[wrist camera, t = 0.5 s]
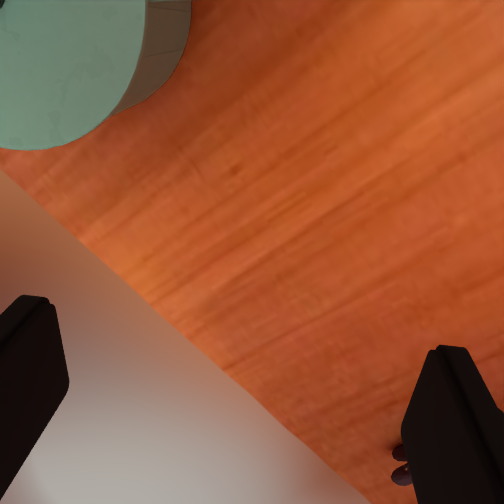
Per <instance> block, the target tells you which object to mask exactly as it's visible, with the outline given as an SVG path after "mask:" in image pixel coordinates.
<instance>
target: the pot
mask: <svg viewBox="0 0 504 504" xmlns="http://www.w3.org/2000/svg"><path fill="white" fill-rule="evenodd" d="M191 1H193V0H148V27H147V33H146V40H145V46H144V51H143V54H142V58H141V61H140V65H139V69H138V71H137V73H136V76H135V78H134V80H133V83H132V85H131V87H130V89H129V91H128V92H127V94H126V95H125V97H124V99H123V100H122V102H121V104H120V105H119V106H118V107H117V108H116V109H115V111H114V112H113V113H112V114H111V115H110V117H111V116H113V115H115V114H117V113H119V112H121V111H123V110H126V109H128V108H130V107H132V106H134V105H136V104H138V103H140V102H142V101H144V100H146V99H148V98H149V97H150V96H151V95H152V94H153V93H154V92H155V91H157V90H158V89H159V88H160V87H161V86H162V85H163V84H164V83H165V82H166V81H167V80H168V79H169V78H170V76H171V74H172V73H173V71H174V70H175V68H176V67H177V65H178V63H179V60H180V58H181V56H182V54H183V51H184V48H185V45H186V42H187V39H188V34H189V29H190V22H191V9H192V8H191Z"/></svg>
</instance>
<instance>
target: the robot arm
mask: <svg viewBox="0 0 504 504" xmlns="http://www.w3.org/2000/svg"><path fill="white" fill-rule="evenodd" d="M68 388H69V376H68V371H67V365H66V360H65V355H64V350H63V345H62V339H61V334H60V329H59V323H58V318H57V313H56V309H55V306H54V305H53V304H50V302H49V300H48V299H47V298H45V297H39V296H30V295H21V296H20V297H18V298H17V299H16V300H15V301H14V302H13V303H12V304H11V305H10V306H9V307H8V308H7V309H6V310H5V311H4V312H3V313H2V314H1V315H0V500H1V498H2V497H3V495H4V494H5V492H6V490H7V489H8V487H9V485H10V484H11V482H12V481H13V479H14V477H15V476H16V474H17V473H18V471H19V469H20V468H21V466H22V465H23V463H24V461H25V460H26V458H27V457H28V455H29V453H30V452H31V450H32V448H33V447H34V445H35V443H36V442H37V440H38V439H39V437H40V436H41V434H42V432H43V431H44V429H45V427H46V426H47V424H48V423H49V421H50V420H51V418H52V416H53V415H54V413H55V411H56V410H57V408H58V407H59V405H60V403H61V402H62V400H63V398H64V397H65V395H66V393H67V391H68ZM401 437H402V442H403V446H404V450H405V454H406V458H407V462H408V466H409V470H410V474H411V478H412V482H413V486H414V490H415V493H416V497H417V501H418V504H504V413H503V412H502V411H501V410H500V409H498V408H497V406H496V404H495V402H494V400H493V398H492V396H491V394H490V392H489V390H488V388H487V387H486V385H485V383H484V381H483V379H482V377H481V375H480V373H479V371H478V369H477V367H476V365H475V364H474V362H473V360H472V358H471V356H470V354H469V352H468V351H467V349H466V348H464V347H456V346H448V345H439V346H438V347H437V348H436V350H430V351H429V352H428V354H427V357H426V360H425V362H424V365H423V368H422V370H421V373H420V376H419V378H418V381H417V384H416V386H415V389H414V392H413V395H412V397H411V400H410V403H409V405H408V408H407V411H406V413H405V416H404V419H403V421H402V425H401Z"/></svg>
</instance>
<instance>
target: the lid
mask: <svg viewBox="0 0 504 504" xmlns="http://www.w3.org/2000/svg"><path fill="white" fill-rule="evenodd" d="M147 27H148V0H0V147H1V148H6V149H12V150H41V149H49V148H53V147H57V146H61V145H64V144H67V143H69V142H72V141H74V140H77V139H79V138H81V137H83V136H84V135H86V134H88V133H89V132H91V131H92V130H94V129H96V128H97V127H98V126H99V125H100V124H102V123H103V122H104V121H105V120H106V119H107V118H109V117H110V115H111V114H112V113H113V112H114V111H115V109H116V108H117V107H118V106H119V105H120V104H121V102H122V100H123V99H124V97H125V95H126V94H127V92H128V91H129V89H130V87H131V85H132V83H133V80H134V78H135V76H136V73H137V71H138V69H139V65H140V61H141V58H142V54H143V51H144V46H145V40H146V33H147Z"/></svg>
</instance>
